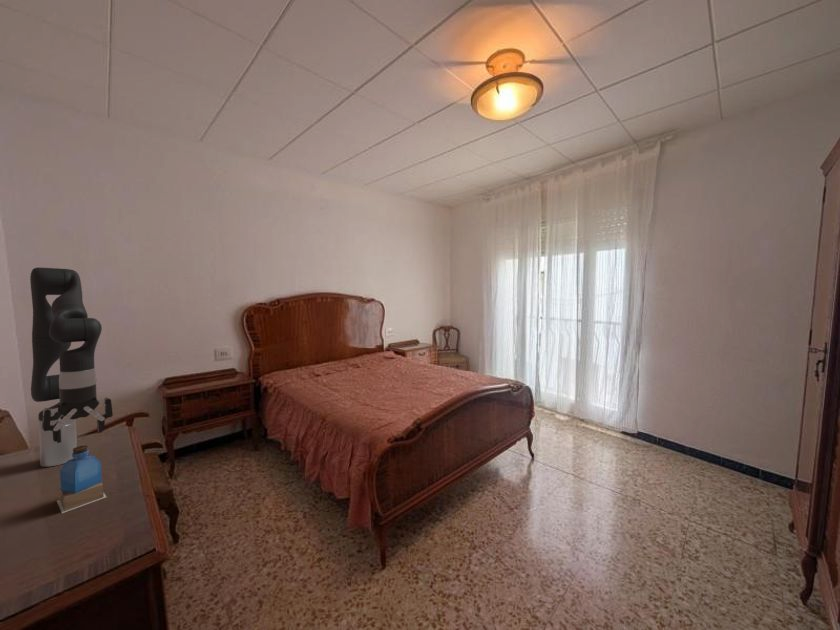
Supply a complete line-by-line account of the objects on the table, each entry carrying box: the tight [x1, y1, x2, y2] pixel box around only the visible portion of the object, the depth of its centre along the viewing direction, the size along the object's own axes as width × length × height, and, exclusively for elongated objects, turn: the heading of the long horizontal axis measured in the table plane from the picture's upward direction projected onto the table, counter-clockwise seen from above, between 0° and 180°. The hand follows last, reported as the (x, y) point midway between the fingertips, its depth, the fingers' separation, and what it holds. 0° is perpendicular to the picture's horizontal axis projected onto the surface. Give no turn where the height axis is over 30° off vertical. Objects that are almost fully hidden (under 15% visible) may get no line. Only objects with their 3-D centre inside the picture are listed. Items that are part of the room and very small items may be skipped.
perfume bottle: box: [59, 444, 102, 494], centre depth 96 cm, size 6×6×12 cm
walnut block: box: [59, 481, 105, 512], centre depth 96 cm, size 8×8×4 cm
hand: (79, 437), depth 95 cm, fingers open, 8 cm apart
